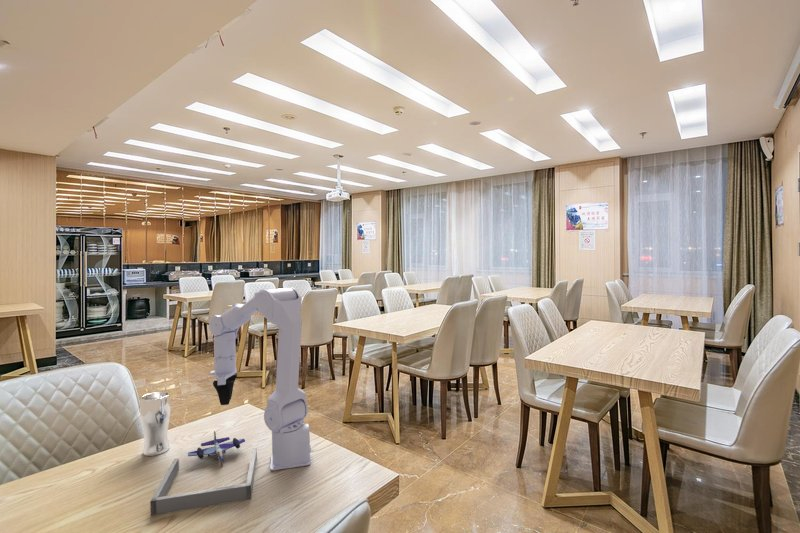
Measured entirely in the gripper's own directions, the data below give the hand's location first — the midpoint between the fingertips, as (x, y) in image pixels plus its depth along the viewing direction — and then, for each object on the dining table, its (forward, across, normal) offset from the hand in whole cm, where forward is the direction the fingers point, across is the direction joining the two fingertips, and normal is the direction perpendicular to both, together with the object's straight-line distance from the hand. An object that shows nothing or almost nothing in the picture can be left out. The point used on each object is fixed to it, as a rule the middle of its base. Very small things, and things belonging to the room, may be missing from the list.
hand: (226, 402), depth 115 cm
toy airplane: (+10, +14, 0) cm, 17 cm away
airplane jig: (+10, +26, 0) cm, 27 cm away
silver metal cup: (+10, +4, -17) cm, 20 cm away
